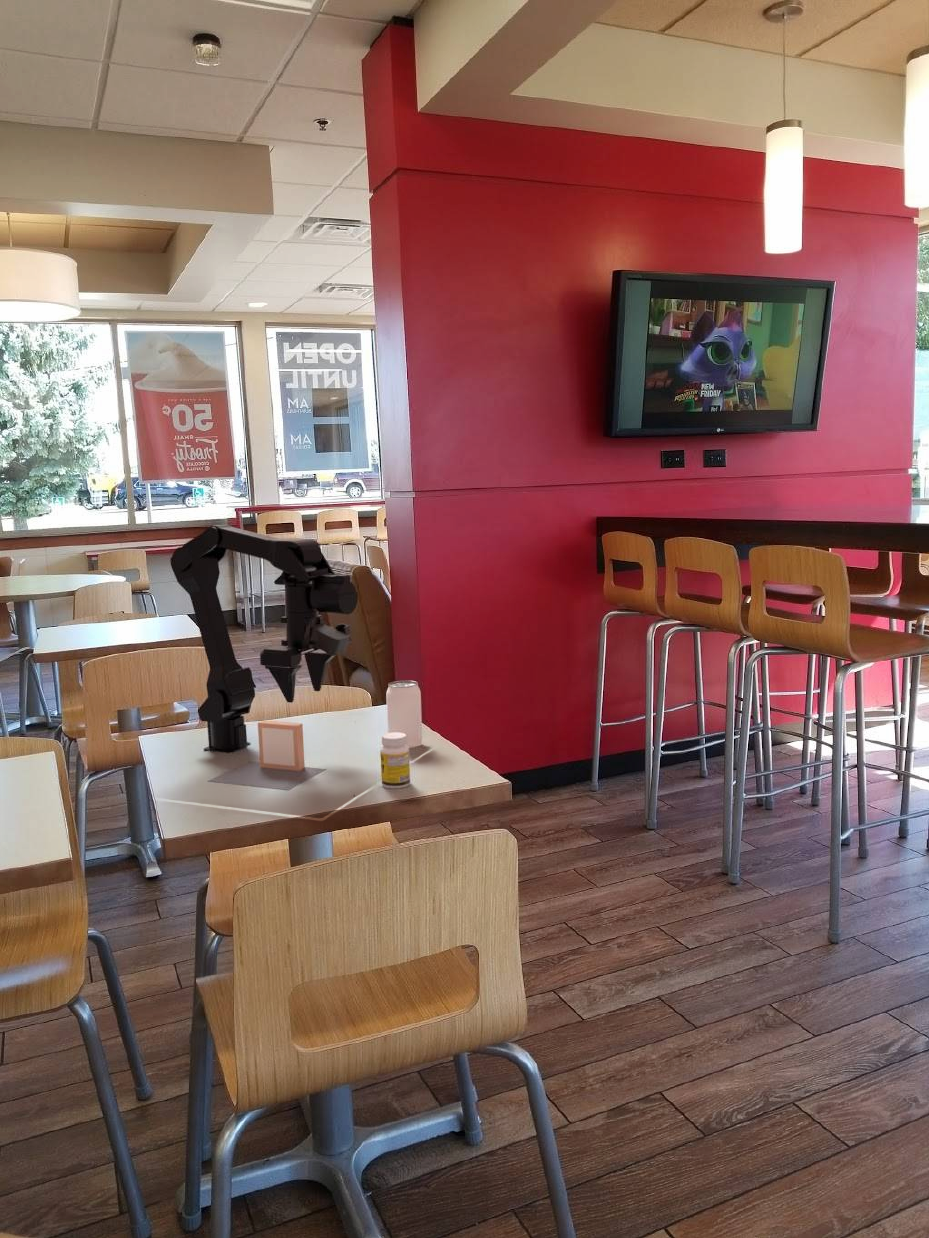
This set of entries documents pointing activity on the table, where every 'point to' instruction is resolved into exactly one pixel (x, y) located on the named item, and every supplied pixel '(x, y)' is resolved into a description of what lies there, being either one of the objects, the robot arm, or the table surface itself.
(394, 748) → the supplement bottle
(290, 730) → the tile
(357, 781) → the table surface
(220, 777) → the mat
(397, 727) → the can
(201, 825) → the table surface
